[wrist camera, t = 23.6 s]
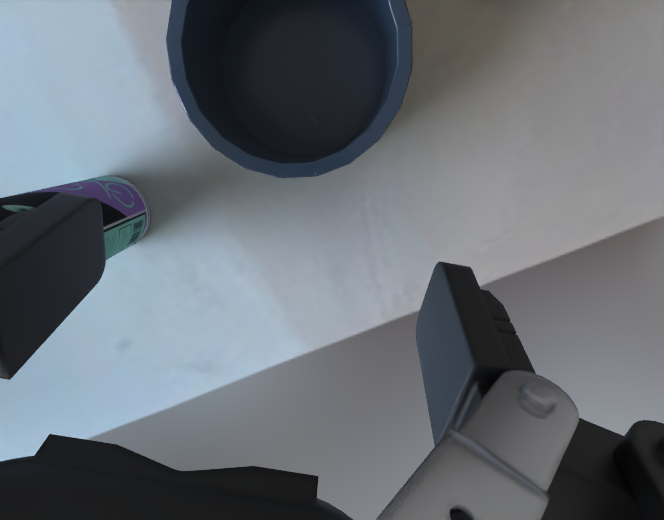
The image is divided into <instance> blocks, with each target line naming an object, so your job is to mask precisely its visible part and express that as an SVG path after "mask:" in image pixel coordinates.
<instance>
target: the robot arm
mask: <svg viewBox="0 0 664 520" xmlns="http://www.w3.org/2000/svg"><path fill="white" fill-rule="evenodd" d="M105 262H106V254H105V241H104V228H103V215H102V207H101V204H100V202H99V200H98V199H96V198H92V197H87V196H81V195H76V194H71V193H65V192H61V193H58V194H57V195H55V196H54V197H52V198H51V199H49V200H47V201H46V202H44V203H43V204H41V205H40V206H38V207H37V208H33V209H30V210H27V211H24V212H21V213H17V214H14V215H11V216H9V217H7V218H6V219H4V220H2V221H1V222H0V378H2V379H8V380H10V379H11V378H12V377H13V376H14V375H15V374H16V372H17V371H18V370H19V369H20V368H21V367H22V366H23V365H24V364H25V363H26V361H27V360H28V359H29V358H30V357H31V356H32V355H33V354H34V353H35V352H36V350H37V349H38V348H39V347H40V346H41V345H42V344H43V343H44V342H45V341H46V339H47V338H48V337H49V336H50V335H51V334H52V333H53V332H54V331H55V329H56V328H57V327H58V326H59V325H60V324H61V323H62V322H63V321H64V320H65V318H66V317H67V316H68V315H69V314H70V313H71V312H72V311H73V310H74V309H75V307H76V306H77V305H78V304H79V303H80V302H81V301H82V300H83V299H84V298H85V296H86V295H87V294H88V293H89V292H90V291H91V290H92V289H93V288H94V287H95V285H96V284H97V283H98V282H99V280H100V279H101V277H102V274H103V272H104V268H105ZM416 341H417V346H418V352H419V358H420V364H421V370H422V375H423V381H424V387H425V393H426V398H427V404H428V410H429V415H430V421H431V427H432V433H433V438H434V444H435V447H434V449H433V450H432V451H431V452H430V454H429V455H428V456H427V457H426V459H425V460H424V461H423V462H422V464H421V465H420V466H419V467H418V468H417V470H416V471H415V472H414V473H413V475H412V476H411V477H410V478H409V479H408V481H407V482H406V483H405V485H404V486H403V487H402V488H401V489H400V490H399V492H398V493H397V494H396V495H395V497H394V498H393V499H392V500H391V502H390V503H389V504H388V505H387V506H386V508H385V509H384V510H383V511H382V513H381V514H380V515H379V516H378V517H377V519H376V520H664V424H663V423H659V422H656V421H648V420H643V421H638V422H636V423H634V424H633V425H632V427H631V428H630V429H629V431H628V432H627V433H626V435H625V436H622V435H620V434H617V433H614V432H612V431H610V430H607V429H605V428H602V427H600V426H597V425H595V424H593V423H590V422H588V421H585V420H583V419H581V418H579V413H578V410H577V407H576V405H575V404H574V402H573V401H572V399H571V398H570V397H569V396H568V394H566V392H564V391H563V390H562V389H561V388H560V387H559V386H557V385H556V384H554V383H553V382H551V381H550V380H548V379H546V378H544V377H542V376H540V375H537V374H536V373H535V371H534V369H533V367H532V365H531V362H530V361H529V358H528V356H527V354H526V352H525V350H524V348H523V346H522V344H521V341H520V339H519V338H518V336H517V335H516V331H515V329H514V327H513V325H512V323H510V318H509V316H508V314H507V312H506V310H505V308H504V306H503V305H502V304H501V302H499V301H498V300H497V299H496V298H495V297H494V296H493V295H492V294H491V293H490V292H489V291H487V290H481V289H480V287H479V285H478V283H477V280H476V278H475V275H474V273H473V271H472V269H471V268H470V267H467V266H462V265H456V264H451V263H445V262H438V263H437V264H436V266H435V268H434V271H433V274H432V276H431V279H430V282H429V285H428V288H427V291H426V294H425V297H424V300H423V303H422V306H421V309H420V312H419V315H418V319H417V325H416ZM317 486H318V476H314V475H307V474H301V473H294V472H288V471H281V470H275V469H268V468H263V467H256V466H249V467H237V468H223V469H211V470H197V471H178V470H175V469H172V468H169V467H167V466H165V465H163V464H161V463H158V462H156V461H154V460H151V459H149V458H147V457H144V456H142V455H140V454H137V453H135V452H133V451H131V450H128V449H126V448H124V447H121V446H119V445H116V444H110V443H103V442H97V441H90V440H84V439H78V438H71V437H65V436H59V435H52V434H49V436H48V437H47V439H46V440H45V441H44V443H43V444H42V446H41V447H40V449H39V450H38V451H37V453H36V454H35V456H28V457H22V458H16V459H10V460H6V461H2V462H0V520H353V519H351V518H350V517H349V516H347V515H346V514H345V513H343V512H342V511H341V510H339V509H337V508H335V507H334V506H332V505H330V504H329V503H327V502H325V501H322V500H320V499H318V498H317Z"/></svg>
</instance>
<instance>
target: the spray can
mask: <svg viewBox="0 0 664 520" xmlns="http://www.w3.org/2000/svg"><path fill="white" fill-rule="evenodd" d="M61 192H65V193H71V194H76V195H81V196H87V197H92V198H96V199H98V200H99V202H100V204H101V207H102V215H103V228H104V241H105V254H106V260H107V259H108V258H110V257H112V256H114V255H115V254H117V253H119V252H121V251H122V250H124V249H126V248H128V247H130V246H131V245H133V244H135V243H136V242H138V241H139V240H140V239H141V238H142V237H143V236H144V234H145V233H146V232H147V229H148V227H149V223H150V210H149V205H148V203H147V200H146V198H145V197H144V195H143V194H142V192H141V191H140V190H139V189H138V188H137V187H136V186H135V185H134V184H132V183H131V182H129V181H127V180H125V179H123V178H120V177H115V176H104V177H97V178H92V179H88V180H83V181H78V182H74V183H69V184H64V185H60V186H55V187H50V188H46V189H41V190H36V191H32V192H27V193H22V194H18V195H13V196H9V197H4V198H0V222H1V221H2V220H4V219H6V218H7V217H9V216H11V215H14V214H17V213H21V212H24V211H27V210H30V209H33V208H37V207H38V206H40V205H41V204H43V203H44V202H46V201H47V200H49V199H51V198H52V197H54V196H55V195H57V194H58V193H61Z"/></svg>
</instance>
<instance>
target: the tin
mask: <svg viewBox="0 0 664 520" xmlns="http://www.w3.org/2000/svg"><path fill="white" fill-rule="evenodd" d="M411 25H412V22H411V19H410V16H409V13H408V9H407V6H406V3H405V0H172V4H171V11H170V17H169V24H168V31H167V37H166V40H167V41H166V43H167V50H168V57H169V65H170V72H171V79H172V81H173V85H174V87H175V89H176V92H177V94H178V96H179V98H180V101H181V103H182V105H183V107H184V110H185V112H186V114H187V116H188V118H189V120H190V121H191V122H192V123H193V125H194V126H195V127H196V128H197V129H198V130H199V132H200V133H201V134H202V135H203V136H204V137H205V139H206V140H207V141H208V142H209V143H210V144H211V146H212V147H213V148H214V149H215V150H217V151H219V152H220V153H222V154H223V155H225V156H226V157H228V158H229V159H231V160H233V161H234V162H236V163H237V164H239V165H240V166H242V167H243V168H246V169H248V170H252V171H256V172H259V173H263V174H267V175H270V176H274V177H278V178H280V177H281V178H295V177H315V176H319V175H322V174H324V173H327V172H329V171H332V170H334V169H337V168H340V167H342V166H345V165H347V164H350V163H351V162H353V161H354V160H355V159H356V158H357V157H359V156H360V155H361V154H362V153H364V152H365V151H366V150H367V149H368V148H370V147H371V146H372V145H373V144H375V143H376V142H377V141H378V140H379V139H380V138H381V136H382V135H383V133H384V132H385V130H386V129H387V127H388V126H389V124H390V123H391V121H392V120H393V118H394V117H395V115H396V114H397V112H398V111H399V109H400V106H401V105H402V102H403V98H404V95H405V91H406V88H407V85H408V81H409V78H410V74H411V71H412V26H411Z"/></svg>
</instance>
